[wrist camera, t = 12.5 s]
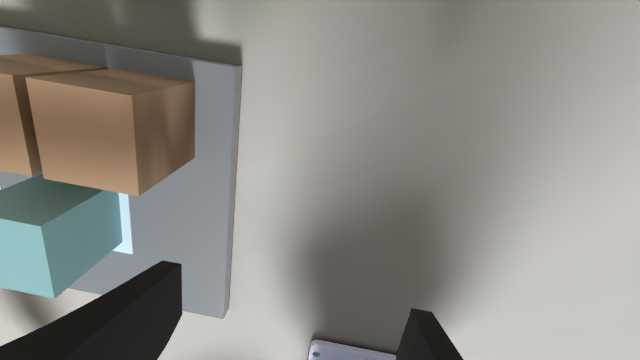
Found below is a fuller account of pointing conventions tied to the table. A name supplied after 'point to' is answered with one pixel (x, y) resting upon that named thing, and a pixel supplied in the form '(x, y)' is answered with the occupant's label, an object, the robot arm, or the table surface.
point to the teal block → (54, 233)
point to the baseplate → (175, 190)
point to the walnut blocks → (93, 123)
